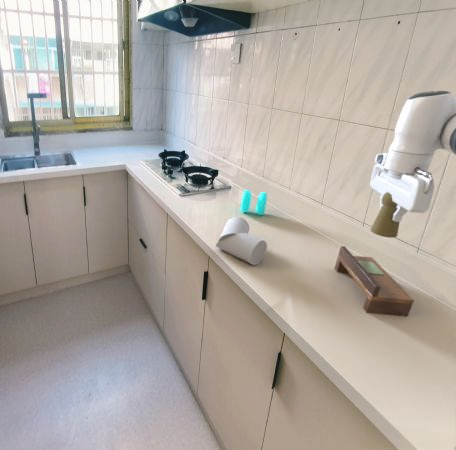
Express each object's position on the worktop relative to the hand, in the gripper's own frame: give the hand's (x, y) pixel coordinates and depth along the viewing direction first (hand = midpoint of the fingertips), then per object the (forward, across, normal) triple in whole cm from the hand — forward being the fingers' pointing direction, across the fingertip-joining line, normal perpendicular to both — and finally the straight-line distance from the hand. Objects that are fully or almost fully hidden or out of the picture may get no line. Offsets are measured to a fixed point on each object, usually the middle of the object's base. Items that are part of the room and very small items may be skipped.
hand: (389, 216), depth 87 cm
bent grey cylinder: (+23, +20, +33) cm, 45 cm away
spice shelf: (+23, 0, -1) cm, 23 cm away
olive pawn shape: (+5, 0, 0) cm, 5 cm away
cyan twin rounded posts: (+23, +56, +23) cm, 64 cm away
